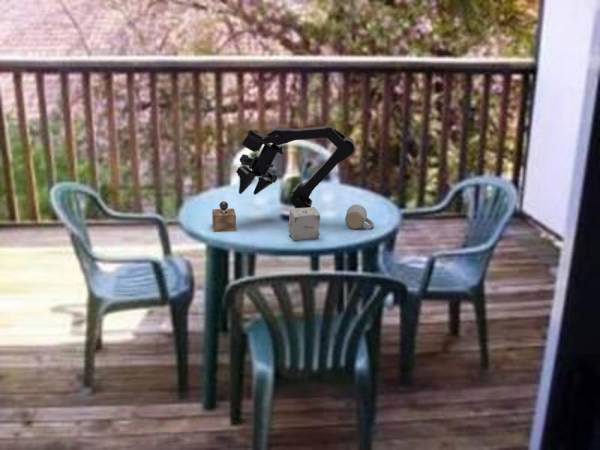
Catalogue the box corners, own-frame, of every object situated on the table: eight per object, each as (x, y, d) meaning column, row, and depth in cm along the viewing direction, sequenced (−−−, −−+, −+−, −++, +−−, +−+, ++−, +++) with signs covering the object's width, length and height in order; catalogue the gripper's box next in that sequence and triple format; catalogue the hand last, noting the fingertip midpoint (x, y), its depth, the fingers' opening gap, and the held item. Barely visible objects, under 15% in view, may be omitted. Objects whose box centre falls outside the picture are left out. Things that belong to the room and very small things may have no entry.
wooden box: (233, 223, 283) (233, 208, 281) (236, 230, 275) (235, 215, 273) (212, 224, 281) (212, 209, 279) (214, 231, 274) (213, 215, 272)
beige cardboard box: (293, 242, 265) (294, 214, 261) (287, 234, 272) (288, 207, 269) (320, 240, 267) (321, 212, 264) (313, 232, 275) (314, 205, 272)
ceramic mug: (344, 229, 279) (345, 209, 277) (346, 222, 287) (347, 203, 284) (372, 231, 278) (374, 212, 275) (374, 224, 285) (375, 205, 283)
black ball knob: (231, 222, 281) (231, 198, 278) (233, 227, 276) (232, 203, 273) (215, 223, 280) (214, 199, 277) (216, 228, 275) (216, 204, 272)
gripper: (266, 149, 288) (247, 183, 293) (236, 145, 272) (217, 181, 277) (286, 164, 283) (267, 198, 288) (256, 161, 267) (237, 197, 272)
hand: (247, 193), depth 281 cm, fingers open, 9 cm apart
